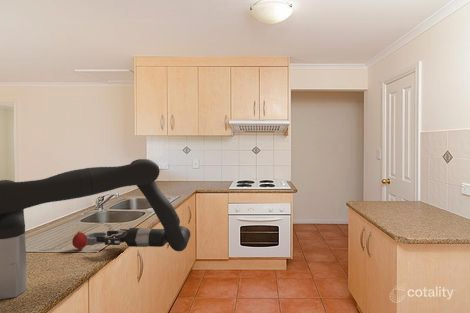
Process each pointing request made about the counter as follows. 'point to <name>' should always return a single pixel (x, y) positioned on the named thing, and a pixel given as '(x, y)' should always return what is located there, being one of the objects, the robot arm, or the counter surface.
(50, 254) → the counter surface
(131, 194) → the counter surface
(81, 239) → the onion
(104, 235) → the grey round tray
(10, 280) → the robot arm
